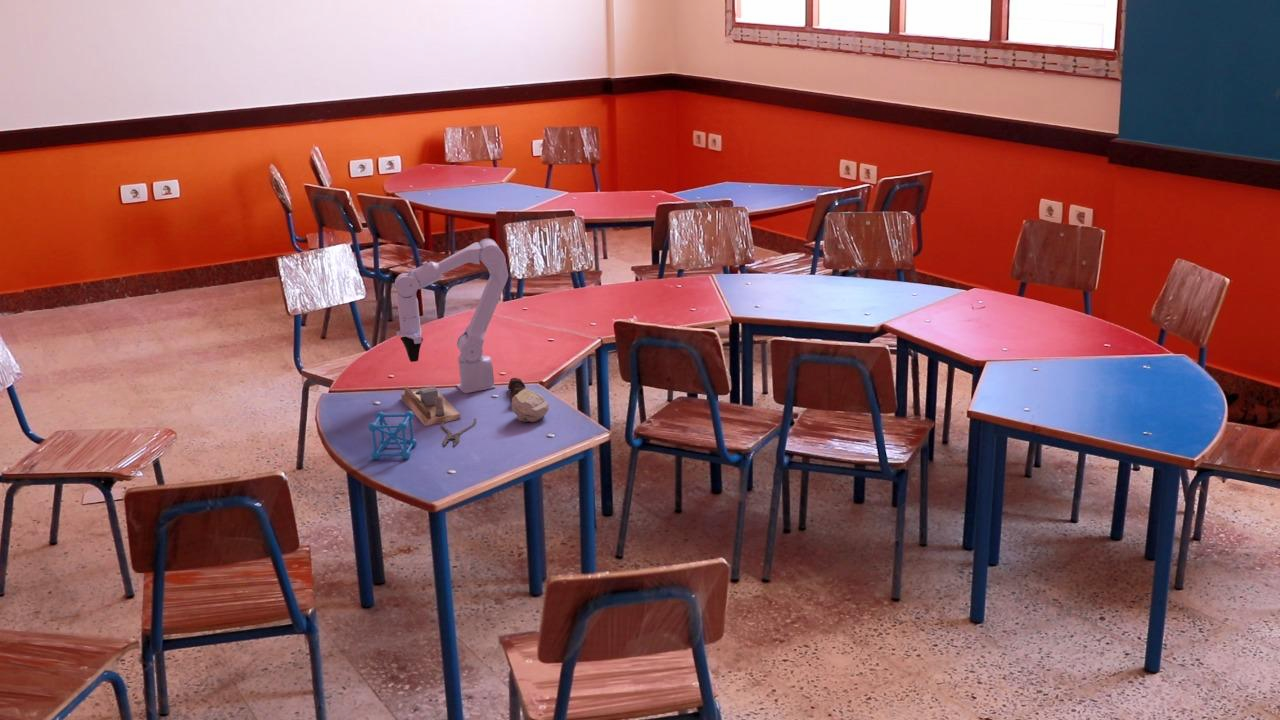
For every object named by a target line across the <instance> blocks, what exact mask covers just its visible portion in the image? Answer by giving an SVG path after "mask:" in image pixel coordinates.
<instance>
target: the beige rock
mask: <svg viewBox="0 0 1280 720" xmlns="http://www.w3.org/2000/svg"><path fill="white" fill-rule="evenodd" d="M549 406H550V404H549V402H547V400H545V398H544V396H543V395H541V394H540V393H537V392H536V391H533V390H531V389H530V388H526V389H523V390H521V391H520V392H519V393H518V394H517V395H515V396H513V398H512V400H511V410H512V411H513V412H512V413H514V414H515V415H516V417H517V419H518V421H519V422H525V423H526V422H527V423H528V422H531V423H534V422H535V423H536V422H537V421H539V420H540V419H542V418H543V417H544V416H545V415H546V414H547V413H548V412H549V410H550V407H549Z"/></svg>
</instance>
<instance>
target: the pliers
mask: <svg viewBox="0 0 1280 720" xmlns="http://www.w3.org/2000/svg"><path fill="white" fill-rule="evenodd" d="M477 420H478V419H477V418H476V417H474V420H473V423H472V424H471V425H469V426H467V427H465V428H464V429H462V430H460V431H458V432H457V433H456V432H455V433H453V432H451V431H450V430H449V429H448V428H446V427H445V423H446V422H445V421H443V422H442V423H441V424H440V426H441V427H440V428H441V430H443V431H444V432H445V434H446V436H445V438H444V439H443V441H442V444H443V448H446V446H447V444H449V442H450V441H453V447H454V448H455V447H456V446H457V445H458V444H459V443H460V437H461V436H460V435H463V434H464V433H465V432H468V430H471V429H472V428H473V427H475V426H476V424H477Z"/></svg>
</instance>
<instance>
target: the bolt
mask: <svg viewBox="0 0 1280 720" xmlns="http://www.w3.org/2000/svg"><path fill="white" fill-rule="evenodd" d="M507 388H508V390H509V392H510V393H511V395H510V397H509V398H510V400H511V401H512V398H513V396H515V395H517V394H518V393H519V392H520V391H521V390H523V389H527V388H526V385H525V383H524V382H523V381H522V379H521V378H517V377H511V378H510V380H509V382H508V386H507Z"/></svg>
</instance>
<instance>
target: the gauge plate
mask: <svg viewBox="0 0 1280 720" xmlns="http://www.w3.org/2000/svg"><path fill="white" fill-rule="evenodd" d="M400 396H401V397H400V398H401V400H402V401H403V402H404V403H405V405H406V406H407V407H408V408H409V409H410V411H412V412H413V413H414V416H416V417H417V418H418V420H419V419H420V420H419V421H420V422H421V423H422V424H423V426H425V427H427V426H431V425H438V424H440V423H441V424H442V422H443V421H445V423H447V422H452V421H456V420H460V419H461V414H460V412H459V411H458V410H457V409H456V408H455V407H454V406H453V405H452V404H451V403H450V401H448V400H447V399H446V397H444V395H443V394H441V392H439V391H438V397H435V398H434V400H435V405H430V406H425V405H424V404H423V403H422V402H421V397H420V390H416V391H412V390H411V388H409V387H408V386H405V387H404V393H401V394H400Z"/></svg>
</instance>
